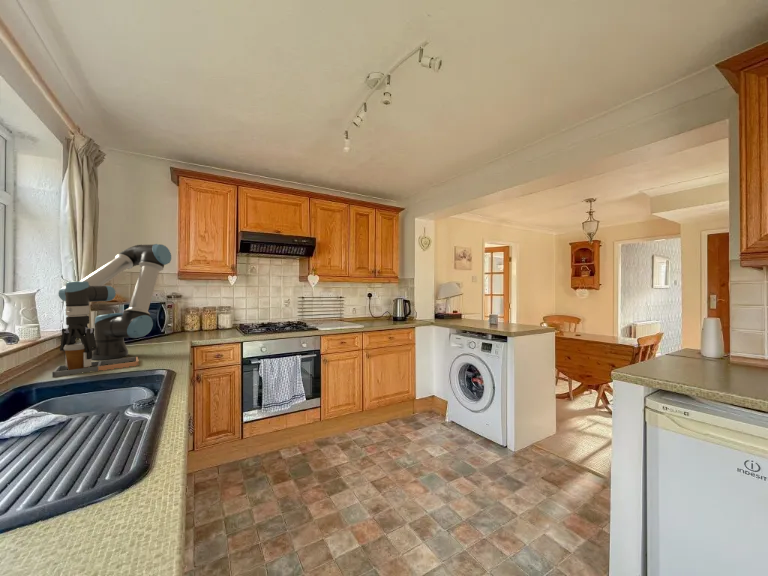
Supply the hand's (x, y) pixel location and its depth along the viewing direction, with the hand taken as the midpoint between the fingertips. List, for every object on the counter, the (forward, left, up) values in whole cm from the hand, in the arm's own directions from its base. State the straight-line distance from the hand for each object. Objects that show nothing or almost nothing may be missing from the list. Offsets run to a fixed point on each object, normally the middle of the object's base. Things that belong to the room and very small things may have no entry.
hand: (78, 366), depth 143 cm
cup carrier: (0, +7, -2) cm, 7 cm away
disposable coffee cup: (0, 0, -2) cm, 2 cm away
